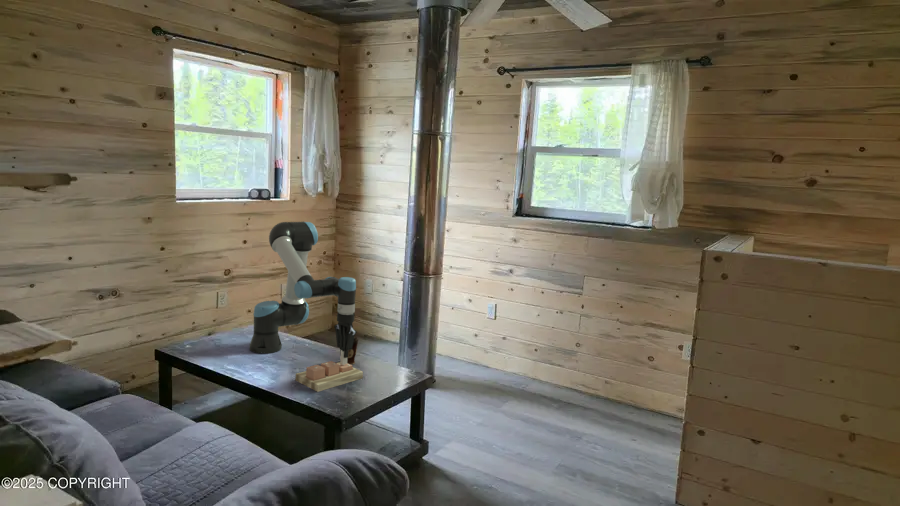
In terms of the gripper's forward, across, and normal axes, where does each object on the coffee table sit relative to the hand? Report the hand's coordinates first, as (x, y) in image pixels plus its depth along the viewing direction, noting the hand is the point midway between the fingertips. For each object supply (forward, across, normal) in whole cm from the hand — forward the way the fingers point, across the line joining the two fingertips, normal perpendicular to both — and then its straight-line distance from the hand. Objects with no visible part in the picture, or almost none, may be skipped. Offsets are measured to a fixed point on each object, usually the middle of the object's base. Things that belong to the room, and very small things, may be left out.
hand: (343, 363), depth 247 cm
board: (+5, 0, -8) cm, 9 cm away
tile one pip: (+3, 0, -15) cm, 15 cm away
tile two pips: (+3, 0, -8) cm, 8 cm away
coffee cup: (+6, -11, +12) cm, 17 cm away
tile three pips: (+5, 0, 0) cm, 5 cm away
